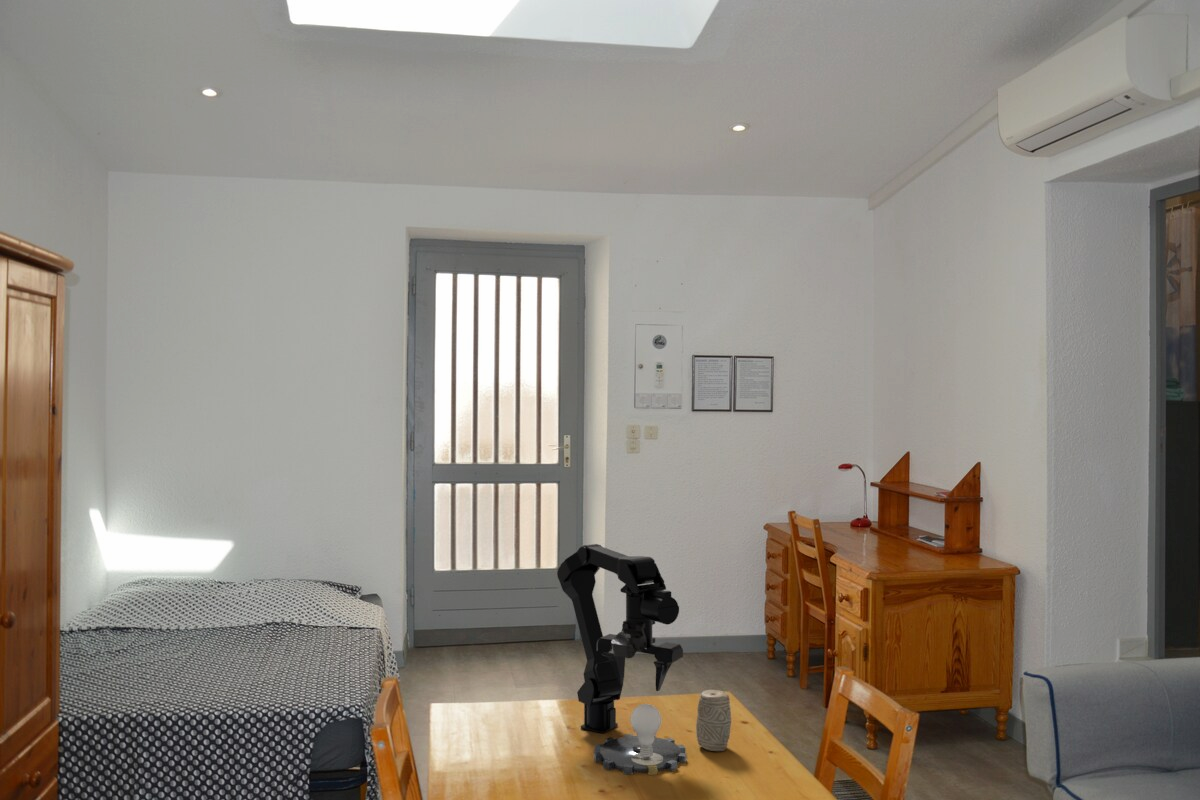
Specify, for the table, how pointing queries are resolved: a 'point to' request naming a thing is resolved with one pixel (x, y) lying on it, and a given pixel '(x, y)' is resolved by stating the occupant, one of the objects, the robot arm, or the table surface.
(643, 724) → the lightbulb
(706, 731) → the carving
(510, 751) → the table surface
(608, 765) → the sprocket plate
